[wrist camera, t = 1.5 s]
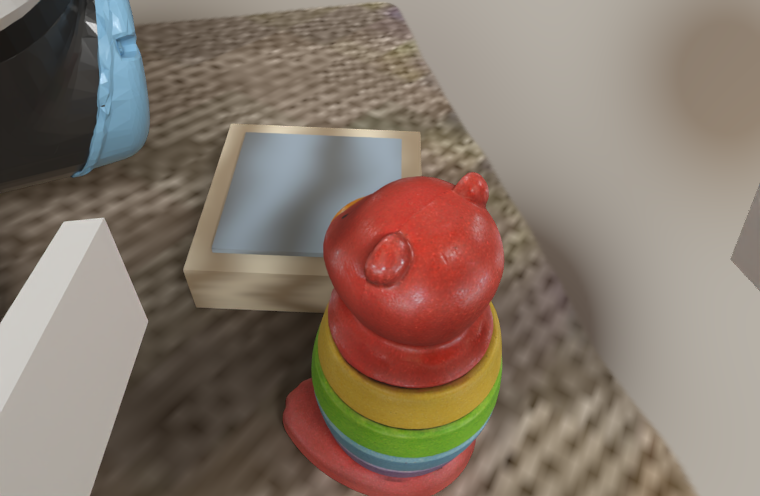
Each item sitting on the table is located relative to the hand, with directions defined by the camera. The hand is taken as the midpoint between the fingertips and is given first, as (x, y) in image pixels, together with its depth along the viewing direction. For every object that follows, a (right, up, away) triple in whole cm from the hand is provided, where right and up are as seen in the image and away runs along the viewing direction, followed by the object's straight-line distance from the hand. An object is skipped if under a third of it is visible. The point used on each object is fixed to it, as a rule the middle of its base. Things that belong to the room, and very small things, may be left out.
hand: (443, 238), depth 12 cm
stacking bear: (0, -10, +22) cm, 25 cm away
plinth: (-6, +1, +32) cm, 33 cm away
